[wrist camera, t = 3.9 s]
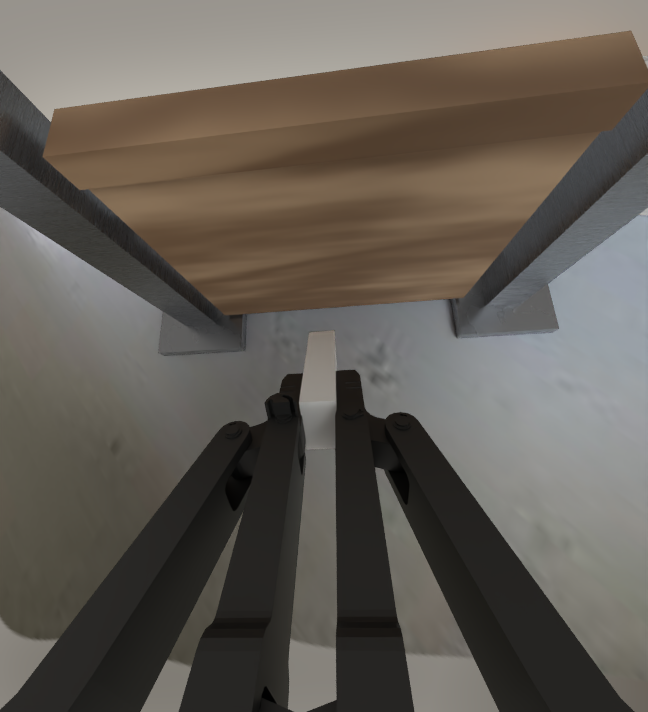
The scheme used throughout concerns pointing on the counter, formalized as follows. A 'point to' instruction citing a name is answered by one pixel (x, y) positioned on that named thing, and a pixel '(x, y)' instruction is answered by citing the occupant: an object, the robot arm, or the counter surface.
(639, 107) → the gate frame
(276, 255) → the gate leaf
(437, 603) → the counter surface
